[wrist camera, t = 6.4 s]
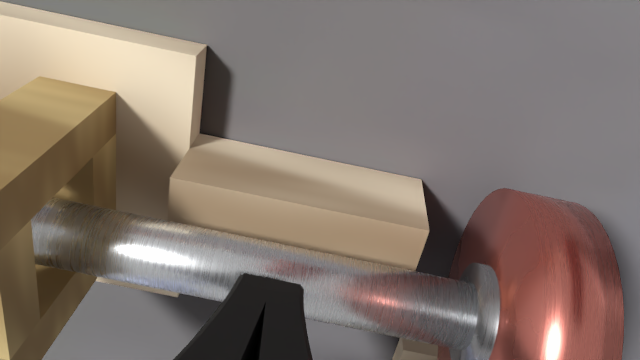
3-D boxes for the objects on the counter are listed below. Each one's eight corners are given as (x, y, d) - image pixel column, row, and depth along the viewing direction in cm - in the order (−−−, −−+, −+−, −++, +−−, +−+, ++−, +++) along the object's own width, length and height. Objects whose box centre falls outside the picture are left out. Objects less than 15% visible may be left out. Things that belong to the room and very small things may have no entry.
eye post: (376, 315, 18) (378, 508, 13) (9, 241, 18) (-152, 403, 13) (448, 95, 14) (496, 234, 9) (-20, -3, 14) (-274, 76, 9)
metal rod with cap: (486, 331, 18) (539, 545, 12) (11, 235, 17) (-161, 407, 12) (567, 158, 14) (691, 338, 9) (-12, 37, 14) (-263, 144, 8)
